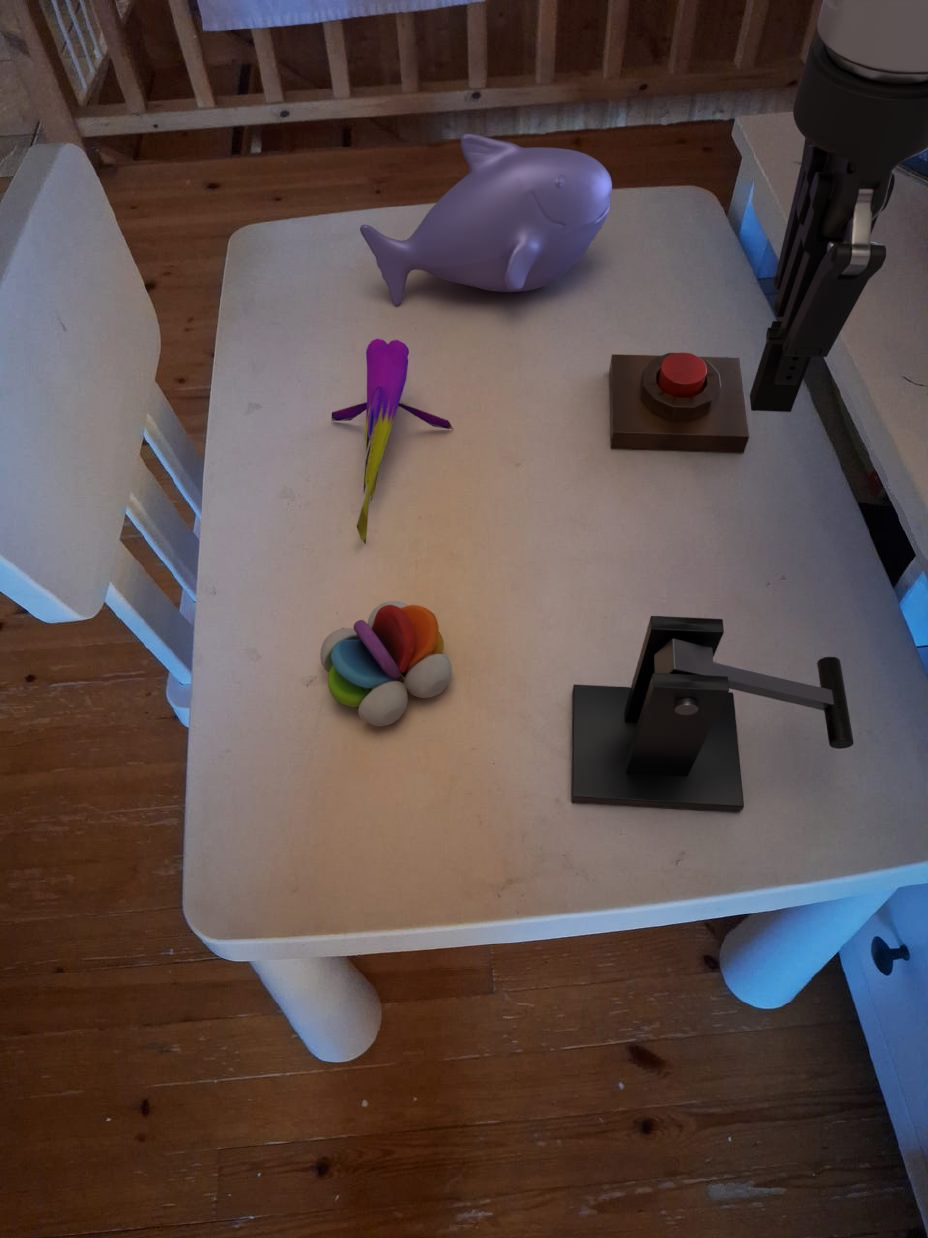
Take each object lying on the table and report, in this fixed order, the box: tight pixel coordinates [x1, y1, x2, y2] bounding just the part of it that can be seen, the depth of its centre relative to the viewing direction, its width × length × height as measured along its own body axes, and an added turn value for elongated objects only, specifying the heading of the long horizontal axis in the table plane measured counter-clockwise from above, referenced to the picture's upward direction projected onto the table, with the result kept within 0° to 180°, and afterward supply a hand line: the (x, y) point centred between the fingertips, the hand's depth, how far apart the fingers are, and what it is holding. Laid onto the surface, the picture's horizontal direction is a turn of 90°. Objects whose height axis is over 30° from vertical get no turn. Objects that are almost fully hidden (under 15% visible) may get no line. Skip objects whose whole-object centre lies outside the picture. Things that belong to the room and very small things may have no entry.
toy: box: [330, 338, 454, 545], centre depth 79 cm, size 12×19×10 cm, turn 173°
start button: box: [659, 352, 707, 398], centre depth 81 cm, size 4×4×2 cm
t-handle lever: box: [654, 638, 855, 750], centre depth 57 cm, size 13×6×2 cm, turn 86°
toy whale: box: [359, 133, 613, 307], centre depth 89 cm, size 14×25×16 cm, turn 101°
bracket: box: [570, 615, 745, 813], centre depth 61 cm, size 12×9×15 cm
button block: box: [608, 352, 750, 454], centre depth 83 cm, size 12×10×4 cm
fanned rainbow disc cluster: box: [319, 600, 453, 727], centre depth 68 cm, size 8×10×7 cm
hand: (770, 403), depth 63 cm, fingers closed
